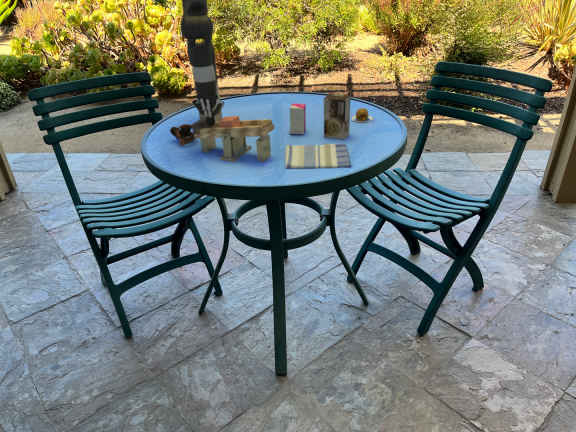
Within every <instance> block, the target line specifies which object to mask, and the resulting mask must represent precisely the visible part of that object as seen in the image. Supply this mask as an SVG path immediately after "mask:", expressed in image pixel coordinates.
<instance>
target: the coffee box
mask: <svg viewBox="0 0 576 432" xmlns="http://www.w3.org/2000/svg"><path fill="white" fill-rule="evenodd" d="M350 117H351V94H344V93H343V94H341V93H330V92H329V93H327V94H326V96H324V98H323V137H324V138H328V139H329V138H330V139H335V140H346V139H347V138H348V137H349V136H350V125H351V124H350V123H351V120H350V119H351V118H350Z"/></svg>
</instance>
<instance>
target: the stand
mask: <svg viewBox="0 0 576 432" xmlns="http://www.w3.org/2000/svg"><path fill="white" fill-rule="evenodd" d="M270 137H271V136H270V134H267V135H266V136H263V137H258V138H257V139H256V140H255V145H256V156H257V158H256V159H257V162H260V163H265V161H267V160H268V159H269V158H270V157H272V153H271V151H272V150H271V140H270V139H271V138H270ZM199 139H200V145H201V152H202V153H206V154H209V152H211V151H213V150H215V148H217V145H216V144H217V143H216V138H199ZM221 140H222V142H221V143H222V147H223V154H222V155H220V157H219V160H220V161H226V162H231V163H235V162H236V161H237V160H239V159H240V158H241V157H242V156H243V155H245V154H246V153H247V152H248V151H250V150H252V145H247V137H230V134H228V133H222V138H221Z"/></svg>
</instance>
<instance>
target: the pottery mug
mask: <svg viewBox="0 0 576 432" xmlns="http://www.w3.org/2000/svg"><path fill="white" fill-rule="evenodd" d="M191 125H192V124H188V123H186V124H185V123H183V124H181V125H179V126H171V127H170V129H169V132H170V134H171V135H173V137H175V138H176V140H177V141H178V140H179V145H180V146H181V147H184V146H185V145H188V144H190V143H193V142H194V141H195V140H196V139H197V138H195V136H194V132H193V131H191V130H193V129H192V126H191Z"/></svg>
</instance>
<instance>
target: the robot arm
mask: <svg viewBox="0 0 576 432" xmlns="http://www.w3.org/2000/svg"><path fill="white" fill-rule="evenodd" d="M181 4H182V10H183V13H182V17H181V20H180V32H181V34H182V36H183V37H184V39H186V46H187V47H186V48H187V59H188V62H189V64H190V66H191V67H192V76H193V81H194V83H193V84H194V89H195V93H196V98H194V99H193V100H191V101H192V102H191V103H192V104H193V105H194V107H195V109H197V111H198V115H199V117H198V118H199V120H200V119H202V118H206V121H207V125H208V126H211V127H212V126H214V125H215V122H218V121H219V120H221V119H222V118H223V112H222V109H223V107H224V105H225V101H221V97H220V89H219V88H220V87H219V81H218V72H217V64H216V63H217V62H216V52H215V47H214V44H213V43H212V41H213V33H214V21H213V20H212V17H210V16H208V9H209V8H208V0H181ZM197 40H203V41H202V42H197Z"/></svg>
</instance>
